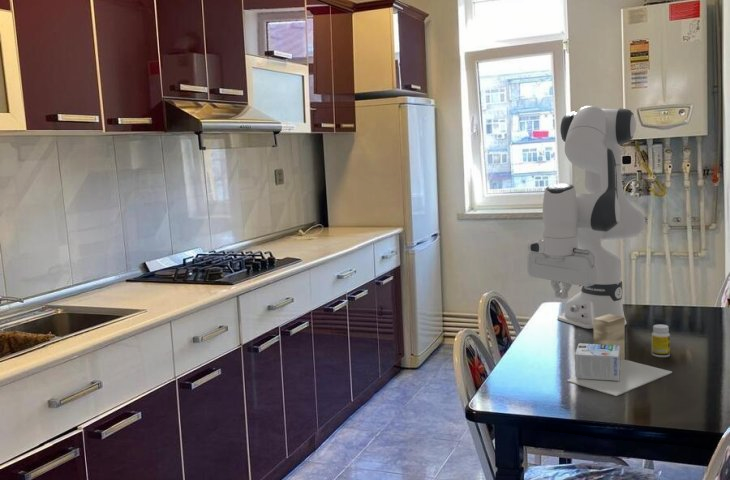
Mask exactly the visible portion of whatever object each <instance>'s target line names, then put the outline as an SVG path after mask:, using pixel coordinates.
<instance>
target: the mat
mask: <svg viewBox="0 0 730 480" xmlns="http://www.w3.org/2000/svg"><path fill="white" fill-rule="evenodd" d="M620 364H621V369H620V381H613V380H597V379H579V378H576V376H574V377H572V378H568V379H567V380H566V382H569V383H572V384H575V385H578V386H582V387H584V388H588V389H591V390H594V391H596V392H597V391H598V392H600V393H605V394H607V395H611V396H613V397H617V396H618V397H619V396H620V395H623V394H625V393H628V392H630V391H632V390H635V389H637V388H639V387H642V386H644V385H646V384H649V383H651V382H654V381H656V380H658V379H660V378H664V377H665V376H668V375H670V374H673V371H671V370H668V369H667V370H666V369H664V368H660V367H659V368H658V367H656V366H651V365H648V364H644V363H639V362H635V361H632V360H628V359H622V360H620Z"/></svg>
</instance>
